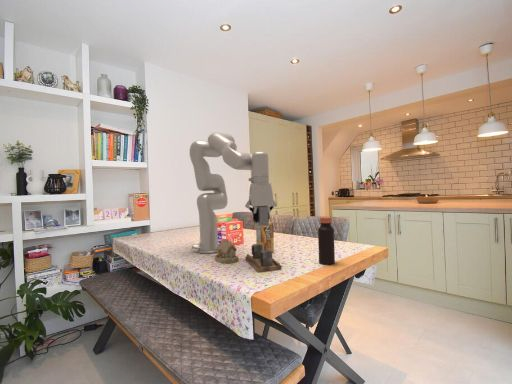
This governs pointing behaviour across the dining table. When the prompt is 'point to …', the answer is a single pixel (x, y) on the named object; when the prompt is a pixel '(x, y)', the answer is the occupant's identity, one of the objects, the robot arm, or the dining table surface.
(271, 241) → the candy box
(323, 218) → the bottle
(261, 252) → the brown display stand
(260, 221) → the finger block
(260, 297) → the dining table surface
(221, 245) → the ceramic model
